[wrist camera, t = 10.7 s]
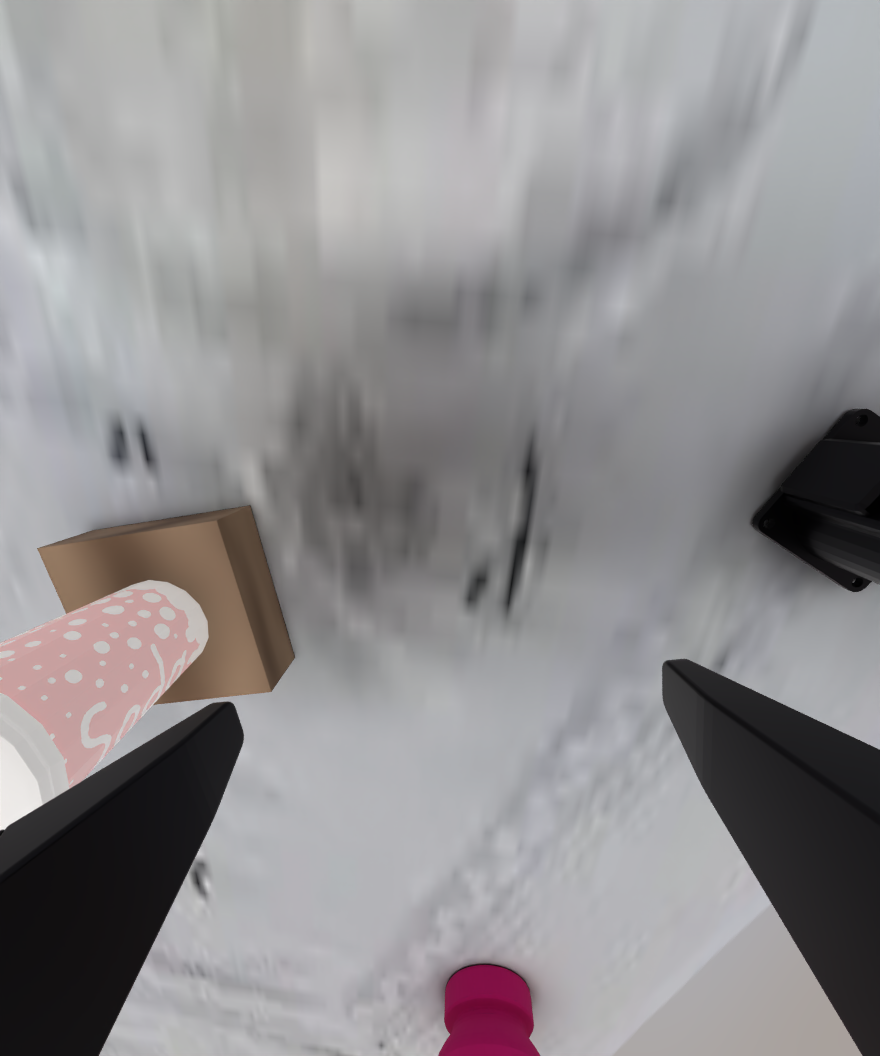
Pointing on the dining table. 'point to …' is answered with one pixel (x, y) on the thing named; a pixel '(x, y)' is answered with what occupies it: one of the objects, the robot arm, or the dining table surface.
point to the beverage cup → (87, 686)
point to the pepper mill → (488, 1014)
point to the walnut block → (190, 592)
